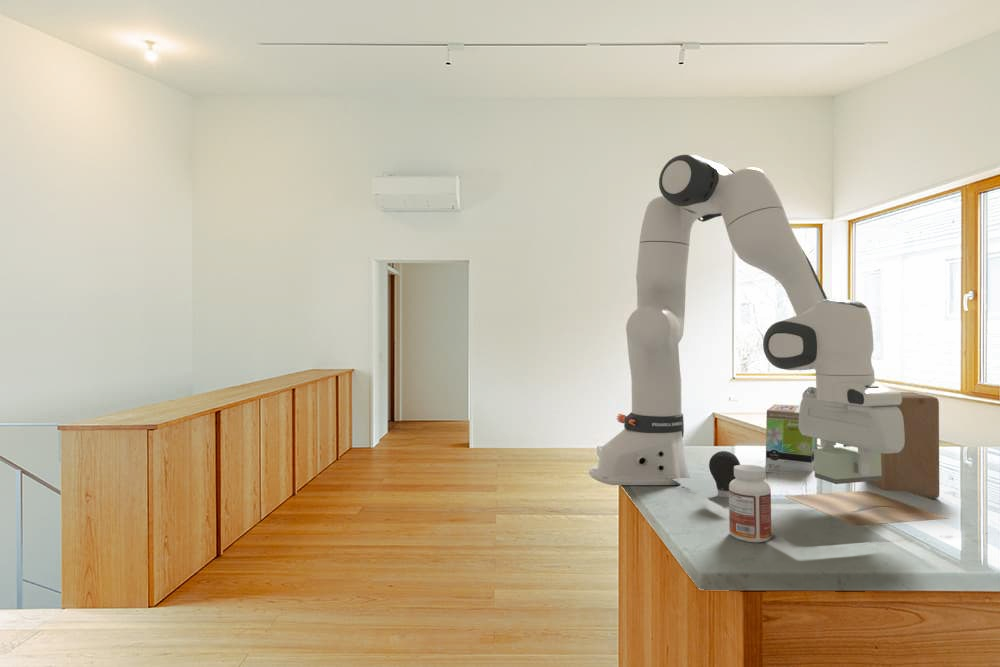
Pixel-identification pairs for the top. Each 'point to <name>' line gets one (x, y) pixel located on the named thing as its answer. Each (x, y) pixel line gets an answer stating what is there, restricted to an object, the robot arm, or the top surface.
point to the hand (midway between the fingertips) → (847, 469)
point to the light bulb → (723, 471)
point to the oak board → (865, 508)
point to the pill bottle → (750, 504)
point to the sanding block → (844, 465)
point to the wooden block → (915, 449)
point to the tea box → (787, 441)
